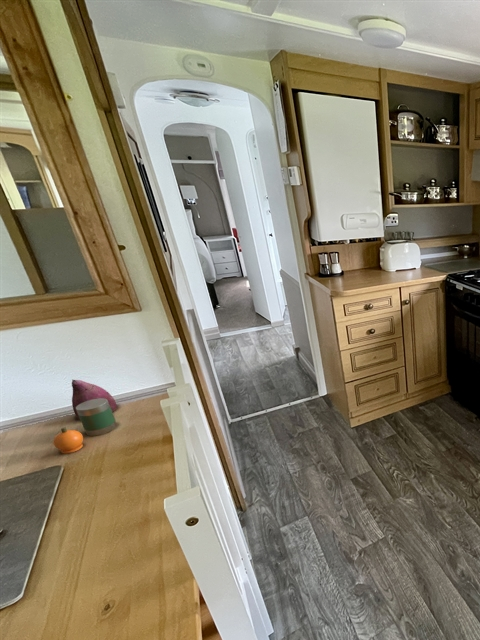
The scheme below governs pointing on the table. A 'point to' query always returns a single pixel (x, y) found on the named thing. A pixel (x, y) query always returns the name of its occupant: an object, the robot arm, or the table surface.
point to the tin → (96, 416)
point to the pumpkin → (68, 441)
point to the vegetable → (89, 394)
